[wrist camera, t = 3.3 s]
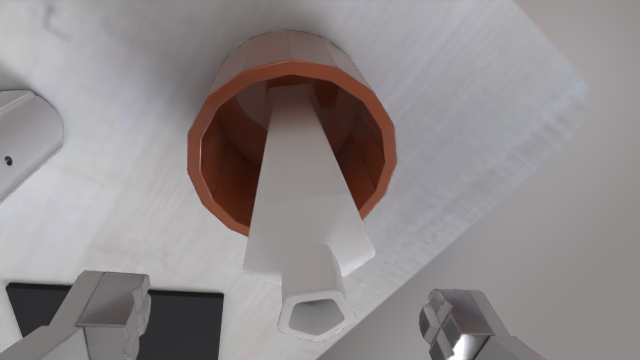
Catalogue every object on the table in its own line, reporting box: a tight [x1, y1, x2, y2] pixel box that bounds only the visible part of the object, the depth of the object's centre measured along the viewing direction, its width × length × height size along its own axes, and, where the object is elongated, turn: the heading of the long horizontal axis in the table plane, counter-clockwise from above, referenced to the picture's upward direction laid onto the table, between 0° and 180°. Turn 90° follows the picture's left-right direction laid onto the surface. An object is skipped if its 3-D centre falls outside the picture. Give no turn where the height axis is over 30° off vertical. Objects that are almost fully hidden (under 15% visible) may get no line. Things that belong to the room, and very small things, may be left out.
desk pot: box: [187, 30, 397, 236], centre depth 20 cm, size 10×10×7 cm
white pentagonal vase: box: [243, 84, 375, 342], centre depth 16 cm, size 5×4×15 cm
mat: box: [6, 283, 224, 360], centre depth 32 cm, size 16×12×1 cm
